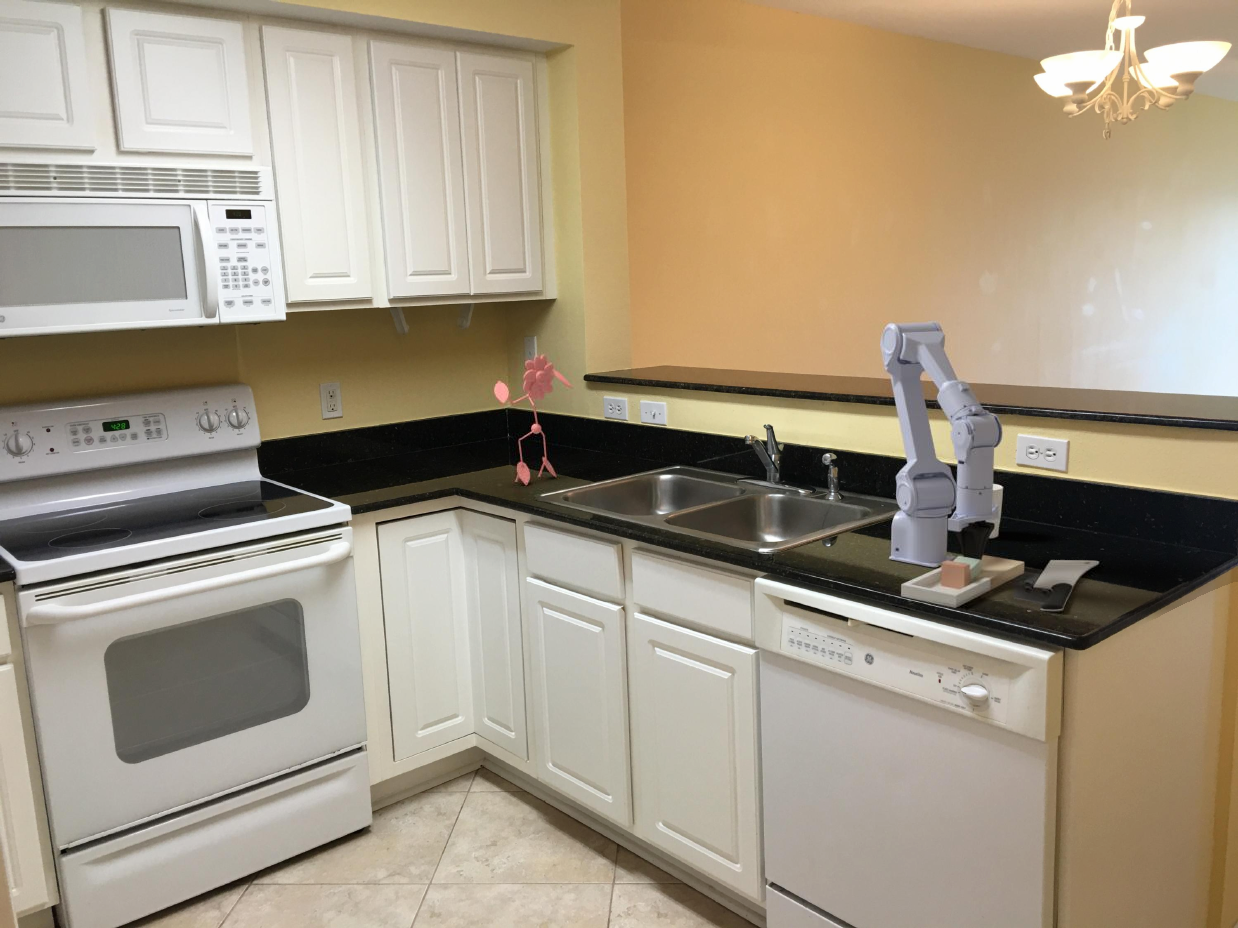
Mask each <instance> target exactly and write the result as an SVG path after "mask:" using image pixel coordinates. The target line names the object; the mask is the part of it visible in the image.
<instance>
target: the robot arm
mask: <svg viewBox="0 0 1238 928" xmlns="http://www.w3.org/2000/svg"><path fill="white" fill-rule="evenodd" d="M945 343H946V335H945V333H944V332H943V329H942V327H941V325H940V324H939V322H937V321H935V320H934V321H933V320H931V321H927V322H908V323H907V322H906V323H895V322H890V323H888V324H887V325H886V326H885V328H884V330H883V331H882V334H881V338H880V342H879V344H880V350H881V356H882V360H883V365H884V370H885V372H887V373H888V374H889V377H890V382H891V387H892V392H893V397H894V401H895V407H896V412H897V418H898V423H899V427H900V432H901V436H902V442H903V447H904V452H905V459H906V462H907V463H906V464H905V465H903V467H902V468H901V469H900V470H899V472H898V473H897V474H896V475H895V481H896V492H895V493H896V494H895V496H896V497H895V498H896V502H897V505H898V507H899V508H900V510H899V511H897V512H895V514H894V516H893V519H892V523H891V541H890V542H891V543H890V545H891V546H890V548H891V549H890V550H891V551H890V552H891V553H890V556H889V558H888V559H889V560H892V561H897V562H903V563H907V564H913V565H918V566H924V567H929V568H930V567H931V568H938V567H941V564H942V562H944V561H947V560H949V561H953V560H955V559H956V558H957V557H956V555H951V554H947V548H948V531H950V532H951V531H952V532H954V533H955V535H956V537H957V539H958V542H959V544H960V548H961V552H962V557H968V558H973V559H979V560H982V556H983V555H984V553H985V548H986V545H987V543H988V540H989V539H990V538H989V536H990V534H991V533H992V531H993V530H994V528H995V524H994V523H991V522H986V520H988V519H991V520H995V519H997V518H999V505H993V504H992V500H993V484H994V465H995V463H994V462H995V448H997V447H998V446H999V445H1000V444H1001V442H1002V440H1003V427H1002V423H1001V420H1000V418H999V416H997V414H995V413H992V412H990V411H989V410H987V409H984V408H983V406H982V405H981V404H980V401H979V400H978V398H977V396H976V395H975V393H974V392H973V390H972V388H971V387H970V384H969V383H968V382H967V381H964V380H959V379H958V377H957V375H956V373H955V371H954V368H953V366H952V364H951V362H950V360H949V357H948V356H947V355H948V354H946V352H945V350H944V349H945ZM924 372H926V374H927V375H928V376H929V377H930V379H931V380H932V382H933V383H934V384H935V386H936V387H937V389H938V390H939V391H938V393H937V397H936V400H937V402H938V404H939V406H940V408H941V409H942V411H943V412H944V414H945V417H946V418H947V420H948V422H949V424H950V425H951V427H952V428H951V430H950V440H951V442H952V445H953V450H954V451H953V455H954V458H955V460H957V466H956V467H957V469H956V472H957V473H956V481H955V479H954V476H953V473H952V470H951V467H950V465H947V464H946V463H945V462H943V461H941V460H940V459H938V458H937V453H936V450H935V449H936V448H935V445H934V439H933V435H932V431H931V430H932V429H931V426H930V419H929V416H928V415H929V414H928V410H927V406H926V401H925V396H924V395H925V394H924V389H923V385H922V380H921V377H922V374H923V373H924ZM955 507H956V508H955ZM954 508H955V511H954V512H953V514H952V509H954ZM950 514H952V515H951V517H950V518H949V517H948V515H950Z"/></svg>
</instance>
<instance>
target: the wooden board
mask: <svg viewBox="0 0 1238 928" xmlns="http://www.w3.org/2000/svg"><path fill="white" fill-rule="evenodd" d="M981 564H982V571H981V572H980V573H979V574H978V575H977V576H976V577H974V578H973V579H972V580H971V581H969V583H970V584H972V583H974V582H976V581H979V580H981V579H983V578H990V579H991V580H990V591H991V590H993V589H996V588H997V587H1000V586H1001V585H1003V584H1005V583H1007V582H1009V581H1011V580H1014V579H1015V578H1017V577H1019V576H1021V575H1024V573H1025V561H1021V560H1015V559H1011V558H1010V559H1008V558H1003V557H998V556H997V557H996V556H991V555H985V554H983V556H982V560H981ZM937 569H941V566H939V568H938V567H937Z"/></svg>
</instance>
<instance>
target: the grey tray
mask: <svg viewBox="0 0 1238 928" xmlns="http://www.w3.org/2000/svg"><path fill="white" fill-rule="evenodd" d="M990 580H991V579H990V578H983V579H981V580H979V581H976V582H974V583H972V584H970V583H969V585H968V586H966V587H964V588H962V589H960V590H959V589H954V588H949V587H944V586H941V569H938V568H936V569H933V570H931V571H929V572H926V573H924V574H922V575H919V576H918V577H915V578H913V579H910V580H909V581H906V582H904V583H901V587H900V591H901V593H900V597H904V598H908V599H913V600H917V601H922V602H926V603H932V604H935V605H936V604H937V605H941V606H944V607H951V608H955V609H956V608H957V607H960V606H961V605H964V604H965V603H968V602H970V601H972V600H974V599H976V598H978V597H979V596H982V595H984V594H986V593H987V592H990V591H991V590H990Z"/></svg>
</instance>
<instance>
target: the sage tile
mask: <svg viewBox="0 0 1238 928" xmlns="http://www.w3.org/2000/svg"><path fill="white" fill-rule="evenodd" d="M952 561H955V562H960V563H966V564H970V581H971V580H972V579H973V578H974V577H976V576H977V575H978V574H979V573H980V572H981V571H982V564H981V560H979V559H973V558H968V557H963V555H962V556H961V555H957V557H956V559H954V560H952Z"/></svg>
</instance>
